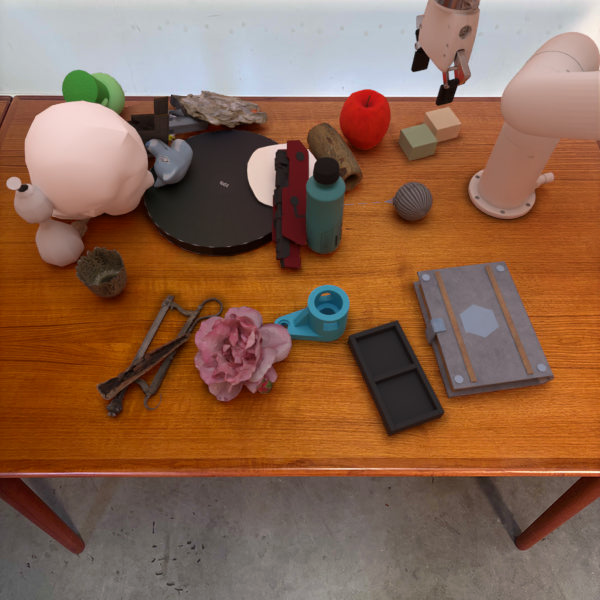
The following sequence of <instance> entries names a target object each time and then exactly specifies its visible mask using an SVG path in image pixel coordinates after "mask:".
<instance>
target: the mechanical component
mask: <svg viewBox="0 0 600 600" xmlns="http://www.w3.org/2000/svg"><path fill="white" fill-rule="evenodd" d="M286 143H287V149H278V150H277V152H276V153H275V158H274V166H275V171H276V177H275V187H276V189H275V190H274V195H273V220H274V221H273V222H272V241H271V242H272V243H274V244H276V245H275V261H279V264H280V269H284V270H285V269H286V270H287V269H288V270H293V271H297V270H300V269H301V268H302V266H301V265H302V258H301V257H300V256H301V252H302V251H301V249H302V247H305V246H306V244H307V242H306V239H307V233H306V221H305V218H306V192H307V190H306V184H307V181H308V180H309V152H308V150H309V149H308V148H307V147H306V146H305V145H304V144H303V142H302V141H301V140H300V139H293V140H292V139H291V140H290V139H287V140H286ZM307 149H308V150H307Z"/></svg>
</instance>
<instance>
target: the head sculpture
mask: <svg viewBox="0 0 600 600" xmlns="http://www.w3.org/2000/svg"><path fill="white" fill-rule="evenodd" d="M126 121H127V120H125V119H124V118H123V117H121V116H120V114H119V115H118V114H117V113H116V112H114V111H113V110H111V109H109V108H107V107H105V106H102V105H100V104H96V103H91V102H86V101H75V102H66V101H65V102H61V103H57V104H53V105H50V106H49V107H47V108H46V109H44V110H43V111H41V112H39V113H38V114H36V115H35V117H34V119H33V121H32V123H31V125H30V127H29V129H28V131H27V133H26V136H25V139H24V161H25V166H26V167H27V170H28V175H29V179H30V184H31V185H34V186H36V187H37V188H38V189H39V190H41V192H42V193H43V194H44V195H45V196H46V197H47V198H48V199H49V200H50V201H51V203H52V204H53V206H54V209H53V214H52V216H51V217H54V218H57V219H60V220H76V221H80V220H83V219H87V218H91V219H92V218H96V217H98V216H101V215H103V214H108V215H111V216H120V215H124V214H127V213H130V212H132V211H134V210H136V208H137V207H138V206H139V204H140V202H141V199H142V197H143V196H144V192H145V191H146V189H148V188H149V187H151V186H152V185H153V184H154V178H153V175H152V173H151V172H150V170H149V161H148V159H149V158H148V157H147V152H146V150H145V147H144V144H143V142H142V140H141V137H140V136H139V134H138V133H137V131H136V130H135V128H133V127H132V126H131V125H130V124H128V123H127V122H126Z"/></svg>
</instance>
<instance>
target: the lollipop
mask: <svg viewBox="0 0 600 600" xmlns="http://www.w3.org/2000/svg"><path fill="white" fill-rule="evenodd" d="M433 202H434V199H433V194H432V192H431V191H430V189H429V188H428V187H427V186H426V185H425V184H423V183H422V182H419V181H410V182H409V181H408V182H406V183H404V184H402V185H401V186H400V187H399V188H398V189H397V191H396V192H395V194H394V196H393V197H392V198H391V199H389V200H385V203H389V204H392V206H393V207H394V210H395V211H396V213H397V214H398V215H399V217H401V218H402V219H404V220H407V221H412V222H413V221H414V222H415V221H419V220H421V219H423V218H424V217H426V216H427V215H428V214H429V213H430V211H431V209H432V206H433ZM376 203H379V201H375V202H372V204H376ZM362 204H363V205H365V204H366V202H362V203H361V202H360V203H359V205H362ZM350 205H351V206H352V205H353V203H349V204H346V206H350Z"/></svg>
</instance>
